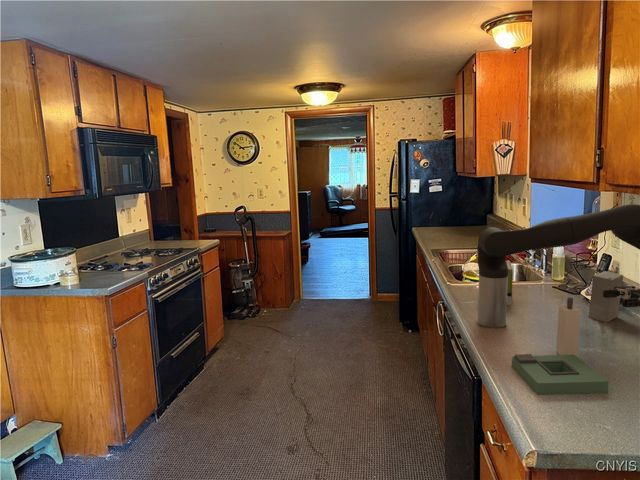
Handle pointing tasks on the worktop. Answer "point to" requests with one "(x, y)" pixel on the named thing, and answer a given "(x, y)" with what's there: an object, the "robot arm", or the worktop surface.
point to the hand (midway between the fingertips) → (612, 298)
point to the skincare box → (600, 305)
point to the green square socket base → (558, 374)
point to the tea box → (509, 283)
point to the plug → (568, 329)
